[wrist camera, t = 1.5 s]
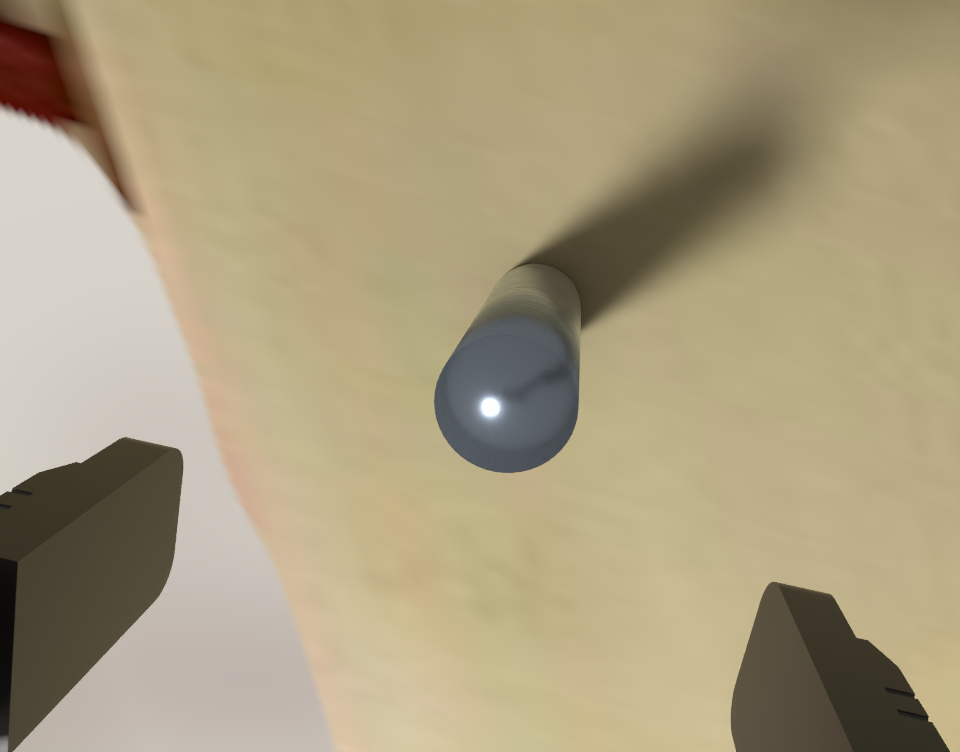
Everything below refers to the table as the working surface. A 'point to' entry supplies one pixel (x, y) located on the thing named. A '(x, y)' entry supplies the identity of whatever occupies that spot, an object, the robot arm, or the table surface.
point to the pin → (515, 374)
